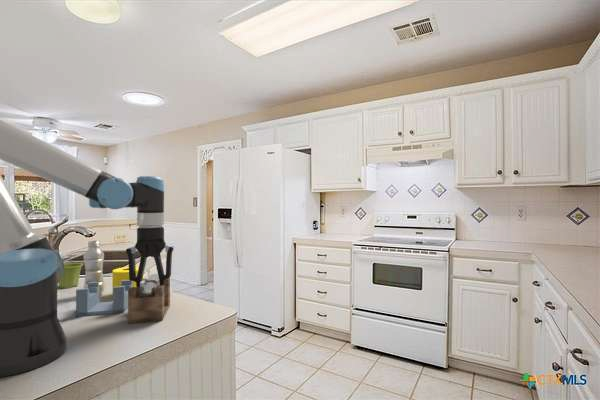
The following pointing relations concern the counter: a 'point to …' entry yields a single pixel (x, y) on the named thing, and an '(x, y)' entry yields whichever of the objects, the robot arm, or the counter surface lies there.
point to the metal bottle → (94, 265)
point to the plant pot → (70, 275)
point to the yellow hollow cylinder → (122, 276)
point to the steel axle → (148, 286)
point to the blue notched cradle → (90, 301)
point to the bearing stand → (148, 304)
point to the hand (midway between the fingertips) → (150, 302)
